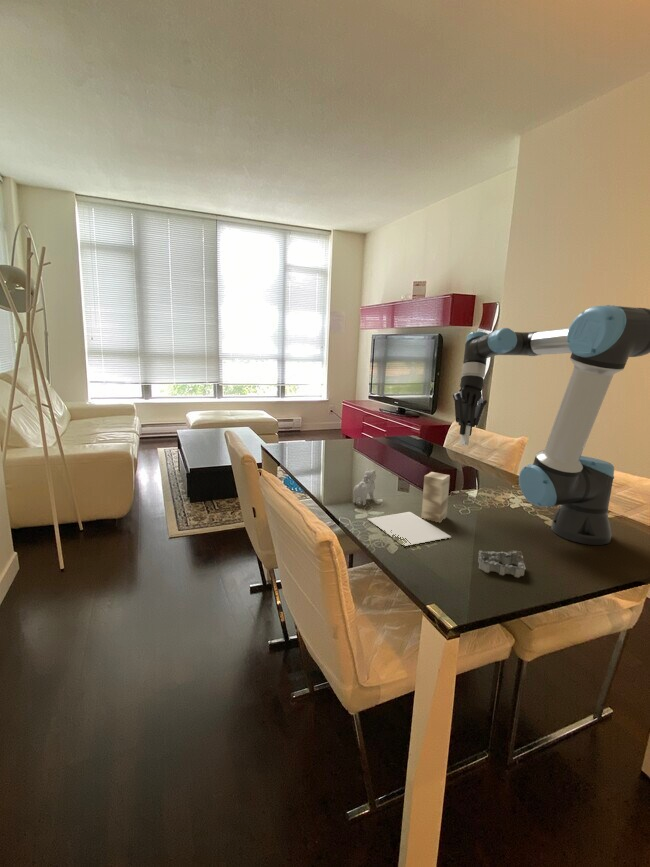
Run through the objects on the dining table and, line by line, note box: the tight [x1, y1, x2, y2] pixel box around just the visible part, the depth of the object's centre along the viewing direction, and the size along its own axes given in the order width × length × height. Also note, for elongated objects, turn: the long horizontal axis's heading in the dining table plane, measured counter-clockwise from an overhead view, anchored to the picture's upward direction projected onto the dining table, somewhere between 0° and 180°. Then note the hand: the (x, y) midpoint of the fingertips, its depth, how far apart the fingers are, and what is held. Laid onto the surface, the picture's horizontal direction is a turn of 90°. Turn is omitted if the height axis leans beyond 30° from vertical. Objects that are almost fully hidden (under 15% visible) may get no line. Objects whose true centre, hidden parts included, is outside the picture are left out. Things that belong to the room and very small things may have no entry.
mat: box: [367, 511, 452, 546], centre depth 126 cm, size 20×16×1 cm
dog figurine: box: [352, 468, 377, 506], centre depth 148 cm, size 5×13×11 cm, turn 151°
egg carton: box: [477, 550, 527, 578], centre depth 104 cm, size 11×8×4 cm
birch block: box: [420, 471, 451, 524], centre depth 134 cm, size 6×6×14 cm
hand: (463, 444), depth 143 cm, fingers closed
